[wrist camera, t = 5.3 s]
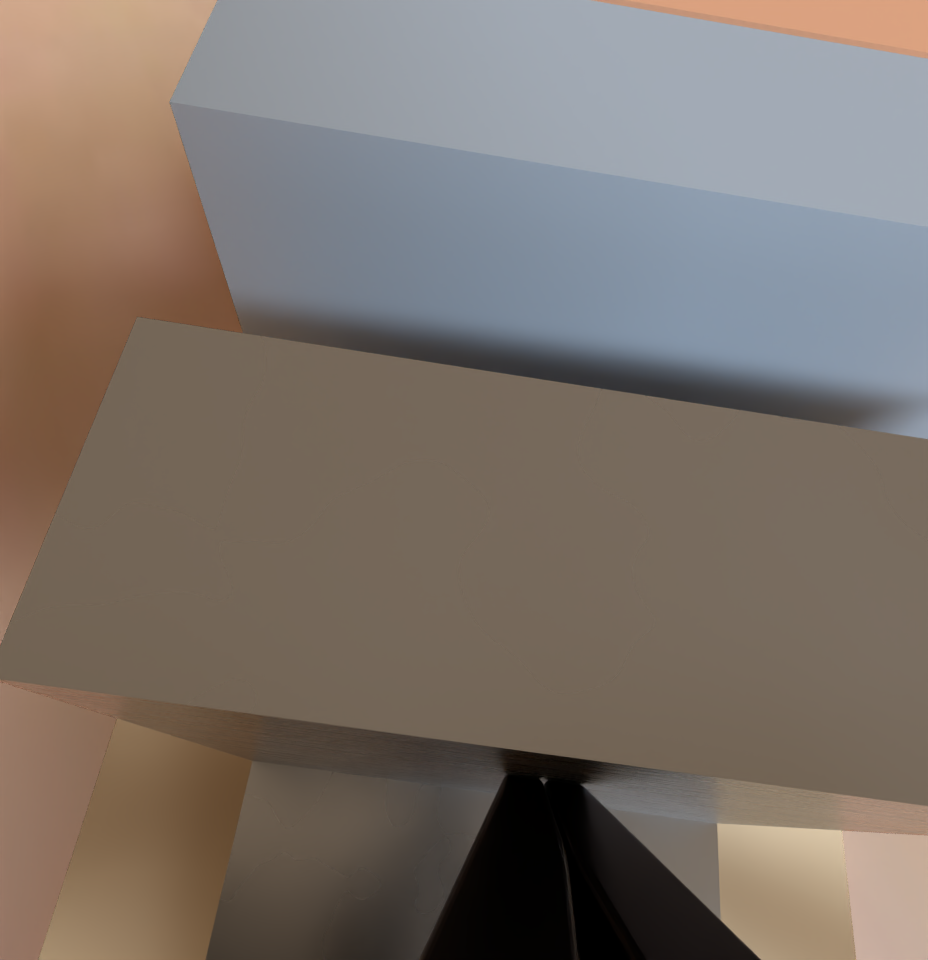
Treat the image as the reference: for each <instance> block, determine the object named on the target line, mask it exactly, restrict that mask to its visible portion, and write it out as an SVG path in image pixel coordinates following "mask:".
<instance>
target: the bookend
mask: <svg viewBox="0 0 928 960" xmlns="http://www.w3.org/2000/svg"><path fill="white" fill-rule="evenodd" d="M0 682H3V683H6V684H9V685H12V686H15V687H18V688H22V689H25V690H28V691H31V692H34V693H38V694H41V695H44V696H47V697H50V698H54V699H57V700H60V701H63V702H66V703H69V704H73V705H76V706H79V707H82V708H85V709H89V710H92V711H95V712H98V713H101V714H105V715H108V716H111V717H114V718H117V719H120V720H124V721H127V722H130V723H133V724H136V725H140V726H143V727H146V728H149V729H152V730H155V731H159V732H162V733H165V734H168V735H171V736H175V737H178V738H181V739H184V740H187V741H191V742H194V743H197V744H200V745H203V746H206V747H210V748H213V749H216V750H219V751H222V752H226V753H229V754H232V755H235V756H238V757H241V758H245V759H248V760H251V761H252V765H251V769H250V774H249V778H248V782H247V786H246V791H245V795H244V799H243V803H242V807H241V812H240V816H239V820H238V824H237V828H236V833H235V837H234V841H233V845H232V850H231V854H230V858H229V862H228V866H227V871H226V875H225V879H224V883H223V888H222V892H221V896H220V900H219V904H218V909H217V913H216V917H215V921H214V925H213V930H212V934H211V938H210V942H209V947H208V951H207V955H206V959H205V960H419V958H420V956H421V954H422V952H423V950H424V948H425V946H426V943H427V941H428V939H429V937H430V935H431V933H432V931H433V928H434V926H435V924H436V922H437V920H438V918H439V916H440V913H441V911H442V909H443V907H444V905H445V903H446V901H447V898H448V896H449V894H450V892H451V890H452V888H453V886H454V883H455V881H456V879H457V877H458V875H459V873H460V871H461V868H462V866H463V864H464V862H465V860H466V858H467V856H468V853H469V851H470V849H471V847H472V845H473V843H474V841H475V838H476V836H477V834H478V832H479V830H480V828H481V826H482V823H483V821H484V819H485V817H486V815H487V813H488V810H489V808H490V806H491V804H492V802H493V800H494V798H495V795H496V793H497V791H498V789H499V787H500V785H501V783H502V780H503V778H504V777H505V776H506V775H516V776H524V777H531V778H538V779H540V780H541V781H542V783H543V785H544V784H545V782H546V781H548V780H554V781H561V782H568V783H575V784H581V785H582V786H584V787H585V788H586V789H587V790H588V791H589V792H590V793H591V794H592V795H593V796H595V797H596V798H597V799H598V800H599V801H600V802H601V803H602V804H603V805H604V806H605V807H606V808H607V809H608V810H609V811H610V812H611V813H612V814H613V815H614V816H615V817H616V818H617V819H618V820H619V821H620V822H621V823H622V824H623V825H624V826H625V827H626V828H627V829H628V830H629V831H630V832H631V833H632V834H633V835H634V836H635V837H636V838H637V839H638V840H639V841H640V842H641V843H643V844H644V845H645V846H646V847H647V848H648V849H649V850H650V851H651V852H652V853H653V854H654V855H655V856H656V857H657V858H658V859H659V860H660V861H661V862H662V863H663V864H664V865H665V866H666V867H667V868H668V869H669V870H670V871H671V872H672V873H673V874H674V875H675V876H676V877H677V878H678V879H679V880H680V881H681V882H682V883H683V884H684V885H685V886H686V887H687V888H688V889H689V890H691V891H692V892H693V893H694V894H695V895H696V896H697V897H698V898H699V899H700V900H701V901H702V902H703V903H704V904H705V905H706V906H707V907H708V908H709V909H710V910H711V911H712V912H713V913H714V914H715V915H716V916H717V917H718V918H719V919H720V920H721V911H720V885H719V859H718V833H717V823H718V824H736V825H754V826H771V827H789V828H806V829H824V830H842V831H859V832H877V833H895V834H912V835H928V439H924V438H917V437H911V436H904V435H898V434H891V433H885V432H879V431H872V430H866V429H859V428H853V427H846V426H840V425H833V424H827V423H820V422H814V421H807V420H801V419H795V418H788V417H782V416H775V415H769V414H762V413H756V412H749V411H743V410H736V409H730V408H723V407H717V406H711V405H704V404H698V403H691V402H685V401H678V400H672V399H665V398H659V397H652V396H646V395H639V394H633V393H627V392H620V391H614V390H607V389H601V388H594V387H588V386H581V385H575V384H568V383H562V382H555V381H549V380H543V379H536V378H530V377H523V376H517V375H510V374H504V373H497V372H491V371H484V370H478V369H471V368H465V367H459V366H452V365H446V364H439V363H433V362H426V361H420V360H413V359H407V358H400V357H394V356H387V355H381V354H374V353H368V352H362V351H355V350H349V349H342V348H336V347H329V346H323V345H316V344H310V343H303V342H297V341H290V340H284V339H278V338H271V337H265V336H258V335H252V334H245V333H239V332H232V331H226V330H219V329H213V328H206V327H200V326H194V325H187V324H181V323H174V322H168V321H161V320H155V319H148V318H142V317H137V318H136V321H135V323H134V326H133V328H132V330H131V333H130V335H129V338H128V340H127V342H126V345H125V347H124V350H123V352H122V354H121V357H120V359H119V362H118V364H117V366H116V369H115V371H114V374H113V376H112V378H111V381H110V383H109V386H108V388H107V390H106V393H105V395H104V398H103V400H102V402H101V405H100V407H99V410H98V412H97V414H96V417H95V419H94V422H93V424H92V426H91V429H90V431H89V434H88V436H87V438H86V441H85V443H84V446H83V448H82V450H81V453H80V455H79V458H78V460H77V462H76V465H75V467H74V470H73V472H72V475H71V477H70V479H69V482H68V484H67V487H66V489H65V491H64V494H63V496H62V499H61V501H60V503H59V506H58V508H57V511H56V513H55V515H54V518H53V520H52V523H51V525H50V527H49V530H48V532H47V535H46V537H45V539H44V542H43V544H42V547H41V549H40V551H39V554H38V556H37V559H36V561H35V563H34V566H33V568H32V571H31V573H30V575H29V578H28V580H27V583H26V585H25V587H24V590H23V592H22V595H21V597H20V599H19V602H18V604H17V607H16V609H15V611H14V614H13V616H12V619H11V621H10V623H9V626H8V628H7V631H6V633H5V635H4V638H3V640H2V643H1V645H0Z"/></svg>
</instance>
